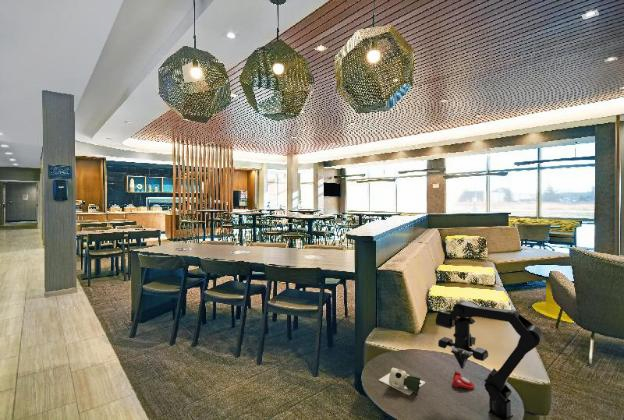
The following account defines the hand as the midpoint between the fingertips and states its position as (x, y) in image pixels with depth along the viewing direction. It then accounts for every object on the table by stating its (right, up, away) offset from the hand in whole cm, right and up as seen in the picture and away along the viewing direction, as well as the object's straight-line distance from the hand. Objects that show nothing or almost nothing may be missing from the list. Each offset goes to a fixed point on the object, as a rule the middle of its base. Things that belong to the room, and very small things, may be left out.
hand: (462, 368), depth 137 cm
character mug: (-16, -10, +5) cm, 19 cm away
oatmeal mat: (-22, -13, +14) cm, 29 cm away
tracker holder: (+5, -13, +12) cm, 19 cm away
